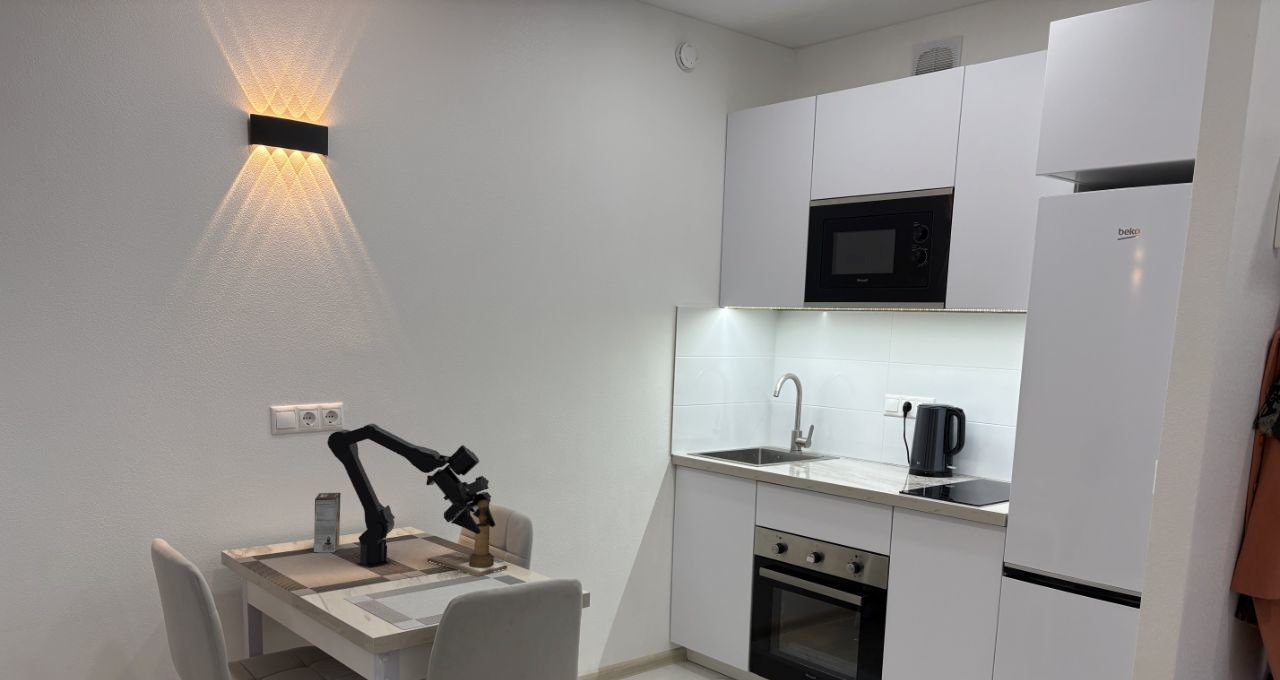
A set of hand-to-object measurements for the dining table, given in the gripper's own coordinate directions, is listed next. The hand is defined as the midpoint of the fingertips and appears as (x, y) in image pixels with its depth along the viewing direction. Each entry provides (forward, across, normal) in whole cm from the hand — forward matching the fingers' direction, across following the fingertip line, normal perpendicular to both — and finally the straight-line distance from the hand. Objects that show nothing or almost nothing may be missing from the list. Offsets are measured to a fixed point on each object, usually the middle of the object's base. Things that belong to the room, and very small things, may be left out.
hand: (487, 529), depth 236 cm
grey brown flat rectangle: (+3, +2, +13) cm, 13 cm away
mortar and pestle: (+6, 0, +8) cm, 10 cm away
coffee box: (-30, +4, +46) cm, 55 cm away
